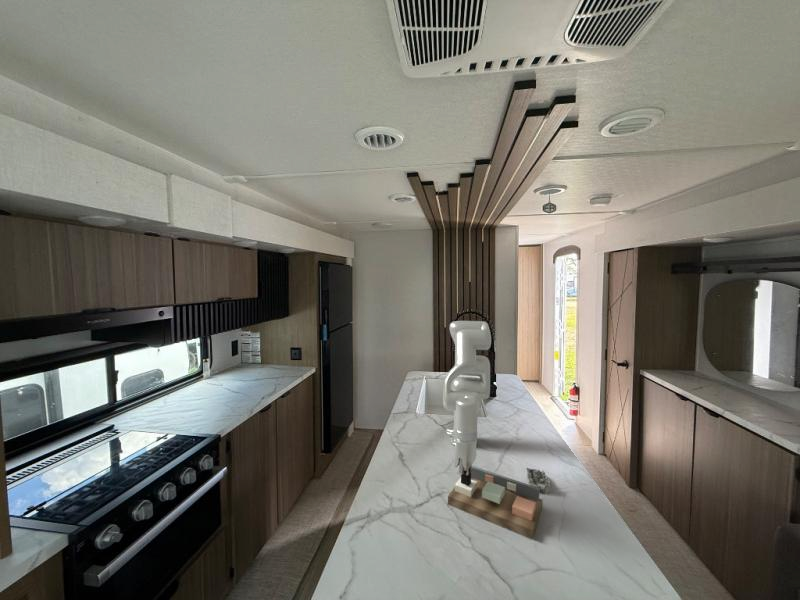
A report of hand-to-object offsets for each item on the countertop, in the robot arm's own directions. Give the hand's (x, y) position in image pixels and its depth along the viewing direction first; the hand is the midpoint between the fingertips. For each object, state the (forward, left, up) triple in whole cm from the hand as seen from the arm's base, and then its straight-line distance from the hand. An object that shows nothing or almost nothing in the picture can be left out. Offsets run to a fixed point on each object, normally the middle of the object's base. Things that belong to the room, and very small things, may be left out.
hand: (465, 483), depth 116 cm
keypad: (+10, +2, -6) cm, 12 cm away
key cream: (0, 0, -2) cm, 2 cm away
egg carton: (+20, +23, -6) cm, 31 cm away
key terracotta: (+20, 0, -2) cm, 20 cm away
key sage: (+10, 0, -1) cm, 10 cm away
